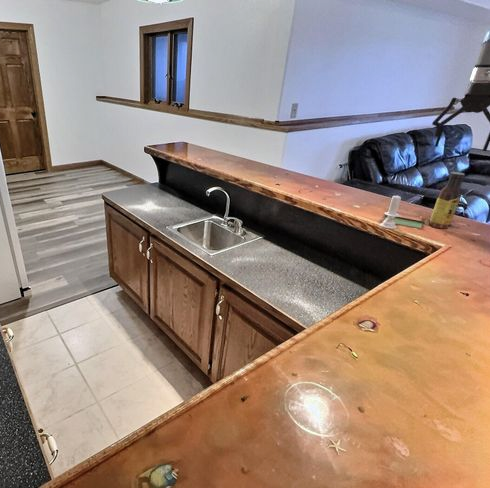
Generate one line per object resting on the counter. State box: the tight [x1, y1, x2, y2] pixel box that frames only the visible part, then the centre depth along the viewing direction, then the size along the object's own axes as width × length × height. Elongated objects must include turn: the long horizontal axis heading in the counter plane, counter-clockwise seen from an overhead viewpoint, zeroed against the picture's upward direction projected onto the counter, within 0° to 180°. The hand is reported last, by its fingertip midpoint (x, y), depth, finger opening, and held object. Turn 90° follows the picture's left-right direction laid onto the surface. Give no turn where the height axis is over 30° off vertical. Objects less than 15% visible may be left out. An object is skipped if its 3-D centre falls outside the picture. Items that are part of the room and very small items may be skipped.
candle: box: [379, 194, 402, 230], centre depth 127 cm, size 5×5×12 cm
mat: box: [383, 214, 424, 230], centre depth 134 cm, size 12×10×1 cm
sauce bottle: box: [428, 171, 466, 230], centre depth 125 cm, size 6×6×20 cm
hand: (459, 148), depth 124 cm, fingers open, 13 cm apart
